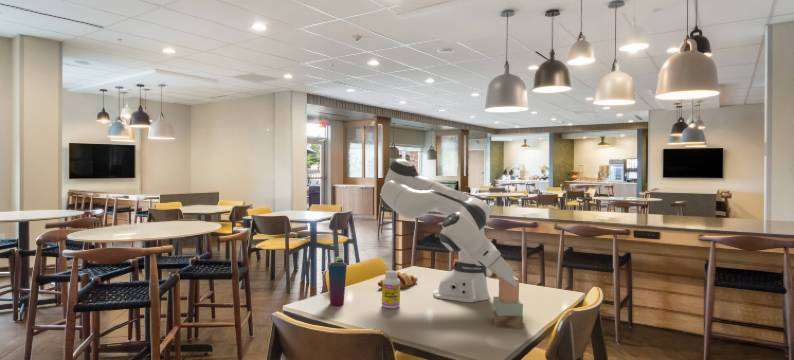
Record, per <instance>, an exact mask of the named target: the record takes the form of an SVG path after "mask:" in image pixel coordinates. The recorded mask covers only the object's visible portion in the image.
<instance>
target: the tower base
mask: <svg viewBox="0 0 794 360" xmlns="http://www.w3.org/2000/svg"><path fill="white" fill-rule="evenodd" d="M523 324H524V315H523V316H498V315H497V314H496V312H495V310H494V309H493V327H494V328H504V329H505V328H507V329H517V330H523V327H524V325H523Z"/></svg>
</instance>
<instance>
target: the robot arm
mask: <svg viewBox="0 0 794 360" xmlns="http://www.w3.org/2000/svg"><path fill="white" fill-rule="evenodd" d="M380 203H381V206H382V207H383V208H385V209H386V210H389V211H391V212H395V213H397V214H399V215H400V216H401V217H403V218H406V219H409V220H413V219H418V218H420V217H423V216H424V215H426V214H428V213H429V212H432V211H433V210H434V211H437V212H439V213H440V214H443V215H446V218H444V219H443V221H442V224H441V227H442V229H441V230H440V232H439V242H440V243H441V245H442V246H443V247H444V248H446V250H447V251H448V252H450V253H458V259H453V261H452V270H451V271H449V272H448V273H447V274H445V275H444V276H443V277H441V278H440V281H439V282H438V283H439V285H438V287H437V288H436V289H434V290H433V292H432V294H433V295H432V296H433V297H434V298H436V299H442V300H450V301H455V302H463V303H471V304H472V303H475V302H480V301H481V302H482V301H486V300H488V299H490V298H491V297H490V293H489V288H488V283H487V282H488V281H487V276H488V270H489V271H490V272H492V273H493V274H495V275H496V276H498V278H499V277H501V278H502V279H504V280H505V281H506V282H509V283H510V284H511V285H512V286H513V287H516V286H517V285H518V282H517V281H516V280H515V279H514V277H515V275H516V274H515V272H514V270H513V268H511V266H510V265H509V264H508V262H507V261H506V260H505V259H504V257H502V256H501V254H502V253H501V252H500V251H499V249H497V247H496V245H495V244H494V243H493V242H492V241H491V240H490V239H489V238H488V237H487V236H486V234H485V226H486V225H487V222H488V221H489V219H490V215H491V208H490V206H489V204H488V202H486V201H484V200H482V199H480V198H477V197H475V196H473V195H470V194H467V193H464V192H462V191H459V190H456V189H454V188H452V187H450V186H447V185H445V184H443V183H441V182H439V181H436V180H434V179H432V178H429V177H425V176H423V175H420V173H419V172H418V171H417V169H416V166H415V165H414V163H412V162H411V161H409V160H407V159H403V158H395V159H393V160H392V161H391V163H390V165H389V168H388V171H387V174H386V176H385V178H384V183H383V185H382V187H381V190H380Z"/></svg>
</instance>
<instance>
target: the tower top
mask: <svg viewBox="0 0 794 360" xmlns="http://www.w3.org/2000/svg"><path fill="white" fill-rule="evenodd" d="M492 302H493V303H492V308H493V311H494V310H495V312H496V314H497V315H498V316H523V317H524V303H523V302H522V301H521V300H520V299H519V302H508V303H504V302H503V301H501V300H500V299H499V296H493V301H492Z"/></svg>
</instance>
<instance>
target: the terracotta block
mask: <svg viewBox="0 0 794 360" xmlns="http://www.w3.org/2000/svg"><path fill="white" fill-rule="evenodd" d="M514 279H515V280H516V281H517V282H518V285H517V286H516V287H513V286H512V285H511V284H510V283H509V282H506V281H505V280H504V279H502V278H501V277H499V276H498V297H499V299H500V300H501V301H503V302H504V303H508V302H519V300H520V279H519V278H517V277H516V276H514Z"/></svg>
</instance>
